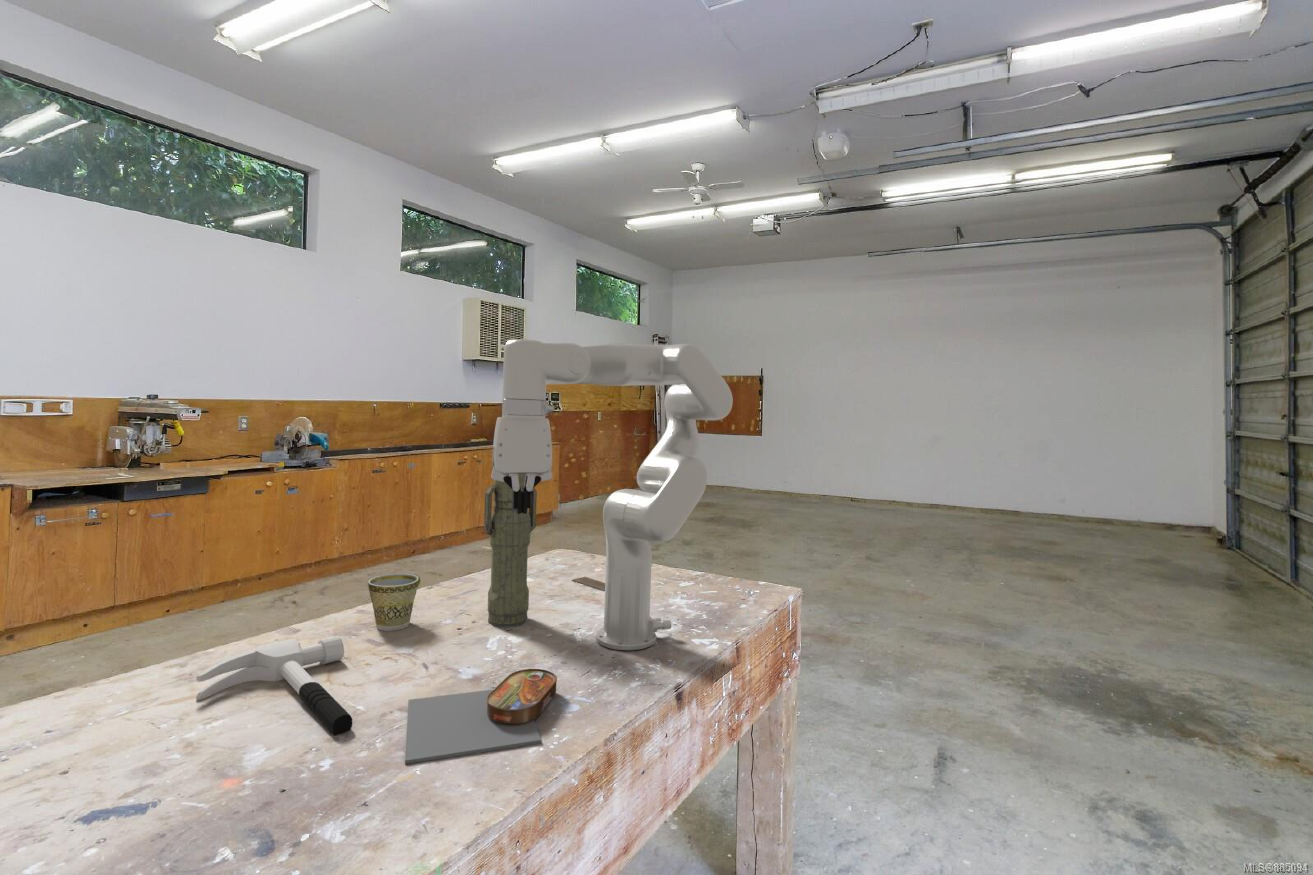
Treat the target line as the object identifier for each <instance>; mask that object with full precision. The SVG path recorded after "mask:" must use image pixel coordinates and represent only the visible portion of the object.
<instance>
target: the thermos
mask: <svg viewBox="0 0 1313 875" xmlns="http://www.w3.org/2000/svg"><path fill="white" fill-rule="evenodd" d="M501 474H503V473H501ZM504 475H508V476H509V474H504ZM525 478H526V474H518V479H519V487H520V488H521V490H522V489H523V486H524V483H525ZM493 482H494V483H493V485H491V486H488V488H487V490H486V491H485V493H484V514H483V517H484V520H483V521H484V522H483V524H484V525H483V527H484V529H483V530H484V534H485V535H487V536H488V535H489V544H490V545H489V546H491V558H490V559H491V562H490V564H491V565H490V566H491V567H490V568H491V570H490V586H489V589H488V592H487V613H488V617H487V618H488V619H487V623H488V624H489V625H490V624H491V625H490V626H492V625H493V627H496V628H514V627H519V626H522V625H525V624H526V623H527V622H528V611H529V603H530V601H529V600H530V599H529V598H530V595H529V594H530V590H529V587H528V583H527V582H528V581H527V580H528V554H529V553H528V551H529V550H528V549H529V545H530V543H531V534H532V531H533V530H534V529H535V528H536V527H537V499H538V498H537V496H538V494H537V493H538V492H537V490H536V487H534V488H533V490H532V491H531V502H530V508H527V514H523V513H521V514H517V513H516V510H515V509H513V508H512V497H513V490H512V489H511V488H510V487H509V486H508V485H507V484H506V483H505V482H502V481H498V480H494V479H493ZM492 499H493V500H492ZM493 501H494V505H492V503H493ZM492 506H493V509H492ZM492 510H493V511H492Z"/></svg>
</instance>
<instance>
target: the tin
mask: <svg viewBox="0 0 1313 875" xmlns="http://www.w3.org/2000/svg"><path fill="white" fill-rule="evenodd" d="M557 682H558V677H557V675H556V674H555V673H553V672H552V671H549V670H546V669H541V668H525V669H520V670H517V671H514V672H512V673H510V674H508V676H506V677H505V678H504V679H503V680H502V681H501V682H500V683H499V684H498V685H497V686H496V687H495V688H494V689H492V690H493V691H492V692H491V693H490V694H489V695H488V697H487V714H488V717H489V718H490V719H491V720H492V721H494V722H500V723H507V724H523V723H527V722H529V721H532V720H534V721H535V720H536V718H537V717H538V716H539V715H540V714H541V713H542V712H543V710H545V708H546V707H547V706H548V704H549V703H550V702H551V701H552V699H553V698H554V697H555V695H556V692H557Z"/></svg>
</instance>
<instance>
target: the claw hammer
mask: <svg viewBox="0 0 1313 875" xmlns="http://www.w3.org/2000/svg"><path fill="white" fill-rule="evenodd" d="M344 655H345V648H344V643H343V639H342V638H341V636H340V635H336V636H332V637H328V638H323V639H320V640H318V643H317V644H313V645H309V646H308V645H307V646H304V647H301V642H300V641H299V640H297V639H295V638H289V639H284V640H280V641H275V642H271V643H266V644H262V645H258V646H256V647H254V648H250V649H247V650H244V651H240V652H239V653H236V654H232V655H231V656H228V657H227V658H224V659H222V660H220V661H218V662H216V663H213V665H211V666H209V667H208V668H206V669H204V670H203V671H201V672H200V673H199V674H197V675H196V678H195V680H196V682H198V683H201V682H205V681H208V680H211V679H213V678H216V677H217V676H220V675H223V674H226V675H224V676H222V677H220V678H218V679H217V680H215V681H213V682H211V683H210V684H208V685H206V686H205V687H203V689H201V690H200V691H198V692H197V695H196V697H195V700H196V701H201V700H203V699H206V698H209V697H210V696H213V695H214V694H216V693H218V692H220V691H222V690H225V689H227V688H230V687H233V686H236V685H240V684H243V682H244V683H247V682H253V681H254V682H255V681H267V682H279V681H283V680H285V681H286V682H287V683H288V684H289V685H290V686H291V687H292V688H293V690H294V691H295V692H296V693H297V694H298V696H299V697H300V699H301V700H302V701H303V703H305V704H306V706H307V707H308V708H309V709H310V710H311V711H312V712H313V713H314V715H315V716H316V717H317V718H318V720H320V722H321V723H322V724H323V725H324V727H326V728H327V729H328V731H329V732H330V733H331V734H332V735H333V736H334V737H335V736H338V735H341V734H344V733H347V732H350V731H351V729H352V727H353V718H352V716H351V714H350V713H349V712H347V710H346V709H345V708H344V707H343V706H342V705H341V704H340V703H339V702H338V701H337V700H336V699H335V698H334V697H333V696H332V695H331V694H330V693H329V692H328V691H327V690H326V689H325V688H324V687H323V685H321V684H320V683H319V682H317V681H316V680H315V679H314V678H313V677H312V676H311V675H310V674H309V673H308V672H307V671H306V670H305V669H304V668H303V667H304V666H308V665H312V664H316V663H320V664H321V665H327V664H330V663H334V662H338V661H342V660H343V658H344ZM230 672H231V673H230ZM227 673H228V674H227Z"/></svg>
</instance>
